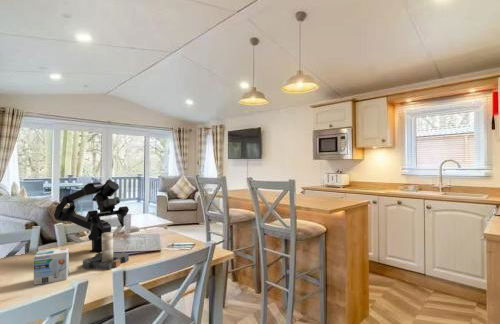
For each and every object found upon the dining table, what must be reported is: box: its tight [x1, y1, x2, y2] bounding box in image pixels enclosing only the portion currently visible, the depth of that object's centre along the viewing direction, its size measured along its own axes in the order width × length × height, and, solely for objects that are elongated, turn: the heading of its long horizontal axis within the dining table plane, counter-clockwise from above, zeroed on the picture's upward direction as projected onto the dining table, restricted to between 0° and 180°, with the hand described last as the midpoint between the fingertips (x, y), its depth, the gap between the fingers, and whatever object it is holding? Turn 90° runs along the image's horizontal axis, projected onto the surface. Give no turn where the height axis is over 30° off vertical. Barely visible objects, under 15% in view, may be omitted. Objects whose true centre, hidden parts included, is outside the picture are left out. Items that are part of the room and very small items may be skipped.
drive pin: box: [101, 231, 114, 263], centre depth 124 cm, size 4×4×14 cm
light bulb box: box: [33, 247, 70, 286], centre depth 110 cm, size 11×7×11 cm, turn 117°
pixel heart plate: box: [82, 251, 130, 271], centre depth 127 cm, size 15×15×2 cm
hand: (113, 228), depth 135 cm, fingers open, 9 cm apart
